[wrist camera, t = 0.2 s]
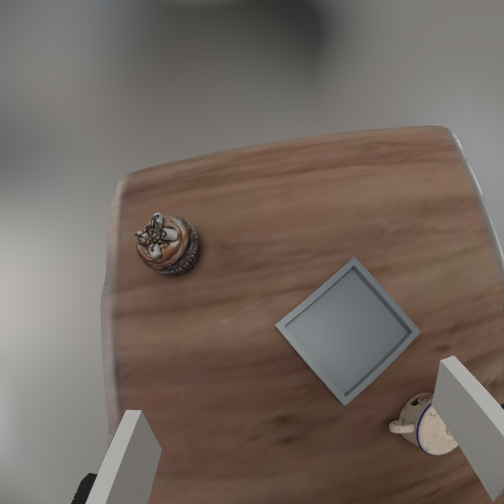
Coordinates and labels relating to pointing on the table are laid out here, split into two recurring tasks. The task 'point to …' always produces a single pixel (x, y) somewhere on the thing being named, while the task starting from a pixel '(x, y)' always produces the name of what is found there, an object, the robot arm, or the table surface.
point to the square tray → (348, 331)
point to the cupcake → (168, 245)
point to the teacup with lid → (424, 426)
